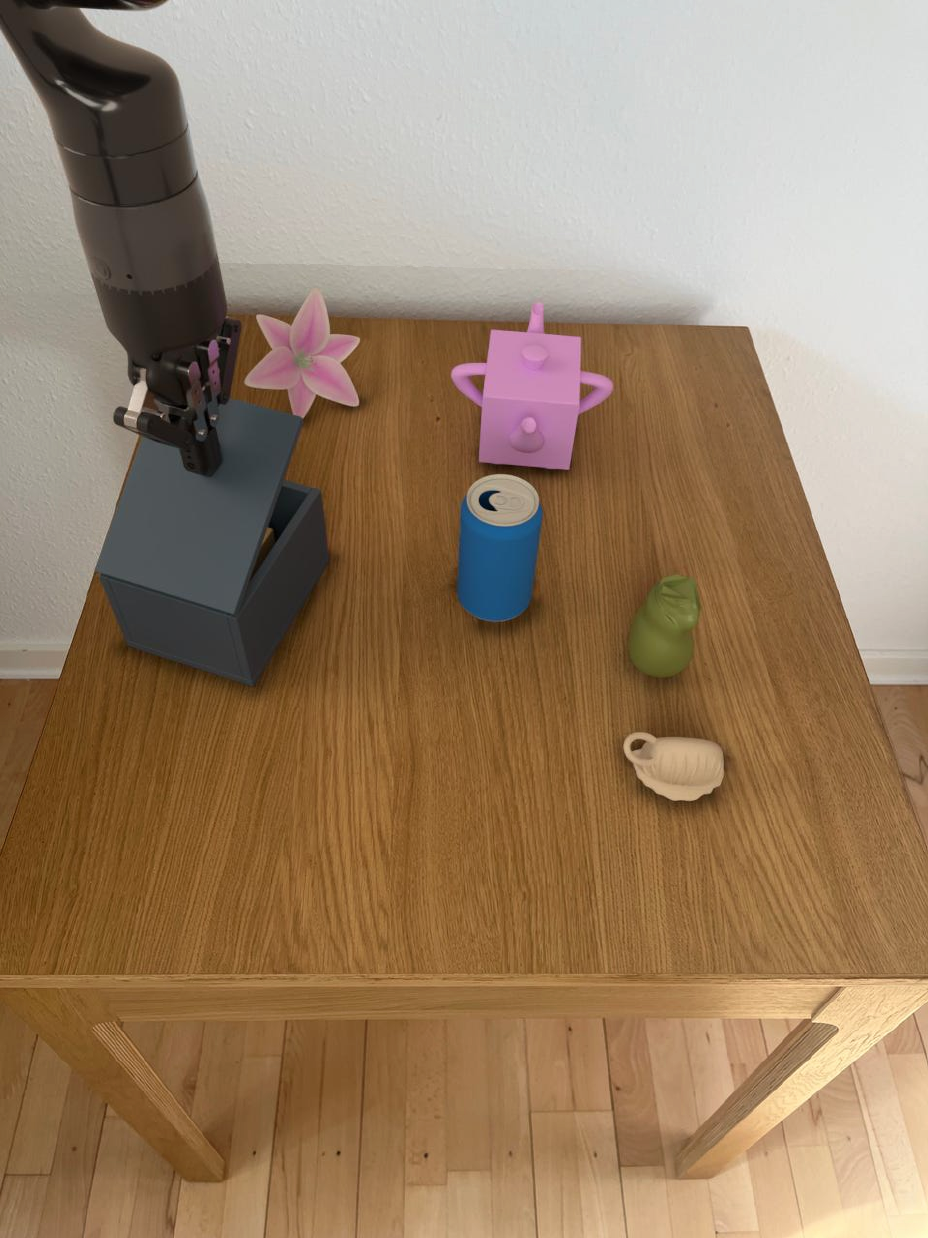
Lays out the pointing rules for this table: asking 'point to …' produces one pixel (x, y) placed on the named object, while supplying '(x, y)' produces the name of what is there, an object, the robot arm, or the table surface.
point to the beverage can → (498, 547)
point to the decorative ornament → (677, 765)
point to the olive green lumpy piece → (665, 627)
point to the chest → (265, 608)
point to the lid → (202, 510)
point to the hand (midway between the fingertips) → (205, 468)
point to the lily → (305, 358)
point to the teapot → (530, 395)
